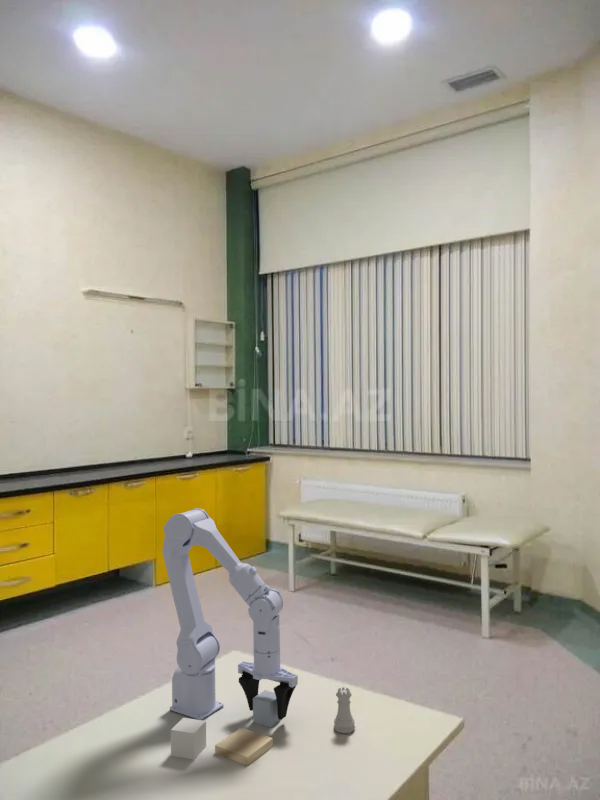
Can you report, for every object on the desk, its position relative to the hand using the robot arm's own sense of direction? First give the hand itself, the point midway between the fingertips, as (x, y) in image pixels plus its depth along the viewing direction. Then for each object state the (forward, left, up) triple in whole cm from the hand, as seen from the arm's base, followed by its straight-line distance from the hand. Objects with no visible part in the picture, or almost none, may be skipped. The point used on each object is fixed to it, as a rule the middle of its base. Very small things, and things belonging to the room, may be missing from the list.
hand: (267, 713), depth 130 cm
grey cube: (-6, -18, -2) cm, 19 cm away
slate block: (0, 0, -2) cm, 2 cm away
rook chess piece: (+16, +5, -2) cm, 17 cm away
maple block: (+3, -12, -2) cm, 13 cm away
